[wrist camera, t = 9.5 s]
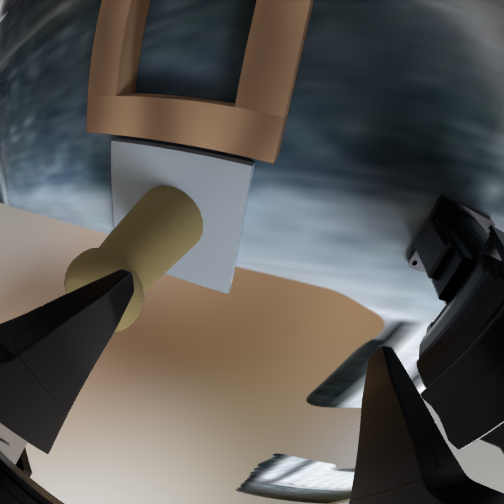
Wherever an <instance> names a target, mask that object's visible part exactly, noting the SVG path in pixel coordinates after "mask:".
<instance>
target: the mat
mask: <svg viewBox="0 0 504 504" xmlns="http://www.w3.org/2000/svg"><path fill="white" fill-rule="evenodd" d="M254 166H255V162H250V161H246V160H242V159H238V158H233V157H229V156H224V155H219V154H214V153H209V152H204V151H199V150H194V149H189V148H183V147H177V146H171V145H165V144H159V143H152V142H146V141H138V140H131V139H123V138H117V139H114V140H112V141H111V182H112V202H113V216H114V228H115V227H116V226H117V225H118V224H119V223H120V221H121V220H122V219H123V218H124V217H125V216H126V214H127V213H128V212H129V211H130V210H131V209H132V208H133V207H134V205H135V204H136V203H137V202H138V201H139V200H140V199H141V198H142V197H143V196H144V195H145V193H146V192H148V191H149V190H151V189H152V188H154V187H158V186H163V185H164V186H171V187H175V188H177V189H179V190H181V191H183V192H185V193H186V194H187V195H188V196H189V197H190V198H191V199H193V201H194V202H195V204H196V205H197V207H198V208H199V210H200V213H201V216H202V219H203V233H202V235H201V238H200V240H199V241H198V242H197V243H196V245H195V246H194V247H193V248H191V249H190V250H189V251H188V252H187V253H186V254H185V255H184V256H183V257H182V258H181V259H180V260H178V261H177V262H176V263H175V264H174V265H173V266H172V267H171V268H170V269H169V270H168V271H167V272H166V273H165V274H168V275H171V276H174V277H176V278H179V279H182V280H186V281H189V282H192V283H195V284H198V285H201V286H204V287H207V288H211V289H214V290H217V291H220V292H223V293H227V294H228V293H229V291H230V289H231V285H232V280H233V275H234V269H235V264H236V259H237V253H238V248H239V243H240V238H241V232H242V227H243V222H244V217H245V212H246V207H247V201H248V196H249V191H250V186H251V181H252V176H253V171H254Z"/></svg>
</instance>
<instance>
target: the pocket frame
mask: <svg viewBox="0 0 504 504" xmlns="http://www.w3.org/2000/svg"><path fill="white" fill-rule="evenodd" d="M150 2H151V0H102V3H101V7H100V11H99V16H98V21H97V26H96V31H95V37H94V43H93V50H92V57H91V66H90V75H89V87H88V102H87V132H92V133H103V134H113V135H122V136H131V137H139V138H146V139H153V140H160V141H167V142H173V143H179V144H185V145H190V146H196V147H201V148H206V149H211V150H216V151H221V152H226V153H231V154H235V155H240V156H244V157H249V158H253V159H257V160H261V161H265V162H269V163H274V162H275V160H276V158H277V157H278V155H279V152H280V147H281V143H282V139H283V134H284V130H285V126H286V121H287V117H288V113H289V108H290V104H291V100H292V95H293V91H294V86H295V82H296V78H297V73H298V69H299V65H300V60H301V56H302V51H303V47H304V43H305V38H306V34H307V29H308V25H309V20H310V16H311V12H312V7H313V3H314V0H257V2H256V6H255V10H254V14H253V19H252V23H251V28H250V32H249V37H248V41H247V46H246V51H245V56H244V61H243V66H242V71H241V76H240V81H239V86H238V91H237V97H236V102H235V103H231V102H225V101H218V100H211V99H204V98H195V97H186V96H176V95H163V94H146V93H135V91H136V82H137V73H138V66H139V59H140V52H141V46H142V40H143V35H144V30H145V24H146V20H147V15H148V10H149V6H150Z"/></svg>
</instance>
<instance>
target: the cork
mask: <svg viewBox="0 0 504 504" xmlns="http://www.w3.org/2000/svg"><path fill="white" fill-rule="evenodd" d="M202 233H203V219H202V216H201V213H200V210H199V208H198V207H197V205H196V204H195V202H194V201H193V199H191V198H190V197H189V196H188V195H187V194H186V193H185V192H183V191H181V190H179V189H177V188H175V187H171V186H164V185H163V186H158V187H154V188H152V189H151V190H149V191H148V192H146V193H145V195H144V196H143V197H142V198H141V199H140V200H139V201H138V202H137V203H136V204H135V205H134V207H133V208H132V209H131V210H130V211H129V212H128V213H127V214H126V216H125V217H124V218H123V219H122V220H121V221H120V223H119V224H118V225H117V226H116V227H115V228H114V230H113V231H112V232H111V233H110V234H109V236H108V237H107V238H106V239H105V241H104V242H103V243H102V244H101V246H100V247H99V248H91V249H89V250H86V251H84V252H83V253H81V254H80V255H79V256H77V257H76V258H75V259H74V260H73V261H72V262H71V264H70V266H69V267H68V269H67V272H66V275H65V280H64V286H65V291H66V294H67V293H70V292H72V291H74V290H76V289H78V288H80V287H82V286H85V285H87V284H89V283H91V282H93V281H95V280H98V279H100V278H102V277H104V276H106V275H109V274H111V273H113V272H115V271H117V270H120V269H125V270H128V271H130V272H132V274H133V281H134V294H133V296H132V298H131V300H130V302H129V304H128V306H127V308H126V310H125V312H124V314H123V316H122V318H121V320H120V323H119V324H118V326H117V328H116V330H115V332H117V331H121V330H124V329H126V328H127V327H128V326H130V325H131V324H132V323H133V322H134V321H135V320H136V318H137V317H138V315H139V314H140V312H141V309H142V306H143V301H144V293H145V292H146V291H147V290H148V289H149V288H150V287H151V286H152V285H153V284H154V283H155V282H156V281H157V280H158V279H159V278H160V277H161V276H162V275H164V274H165V273H166V272H167V271H168V270H169V269H170V268H171V267H172V266H173V265H174V264H175V263H176V262H177V261H178V260H180V259H181V258H182V257H183V256H184V255H185V254H186V253H187V252H188V251H189V250H190V249H191V248H193V247H194V246H195V245H196V243H197V242H198V241H199V240H200V238H201V235H202Z"/></svg>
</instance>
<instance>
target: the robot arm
mask: <svg viewBox="0 0 504 504" xmlns="http://www.w3.org/2000/svg"><path fill="white" fill-rule="evenodd" d="M443 201H445V204H444V205H442V202H443ZM489 225H490V227H489ZM488 227H489V228H488ZM414 246H415V248H414V250H413V252H412V253H411V255H410V257H409V259H408V263H409V266H410V267H411V268H414V269H417V270H420V271H423V272H426V273H427V276H428V278H430V279H431V280H432V283H433V285H434V288H435V290H436V292H437V295H438V298H439V299H440V300H443V301H444V302H445V305H446V306H445V307H444V309H443V310H442V311H441V313H440V314H439V315H438V317H437V318H436V319H435V321H434V322H432V323H431V324H430V325H429V326H428V328H427V334H426V335H425V336H424V338H423V340H422V342H421V344H420V350H419V359H418V360H417V368H418V372H419V375H420V378H421V380H422V382H423V384H424V386H425V388H426V389H425V390H424V391H423V392H422V393H421V396H420V394H419V392H418V391H417V389H416V387H415V385H414V384H413V382H412V380H411V378H410V377H409V375H408V373H407V372H406V370H405V368H404V367H403V365H402V363H401V362H400V360H399V358H398V357H397V355H396V353H395V352H394V350H393V349H392V347H390V346H386V345H380V346H379V347H378V348H377V349H376V351H375V352H374V353H373V354H372V356H371V357H370V358H369V361H368V365H367V372H366V379H365V385H364V392H363V398H362V409H361V423H360V434H359V443H358V452H357V460H356V467H355V474H354V480H353V486H352V492H351V497H350V502H349V504H504V493H501V492H499V491H496V490H493V489H491V488H489V487H486V486H484V485H482V484H479V483H476V482H475V481H473V480H471V479H470V478H469V477H468V476H466V474H465V473H464V471H463V469H462V468H461V466H460V465H459V463H458V461H457V460H456V458H455V456H454V455H453V453H452V452H451V450H450V448H449V447H448V445H447V443H446V442H445V440H444V438H443V436H442V434H441V433H440V431H439V429H438V427H437V425H436V423H434V419H433V418H432V416H431V414H430V412H429V410H428V408H427V407H426V405H425V403H424V401H423V399H424V400H425V401H427V403H429V404H430V405H431V406H432V408H433V409H434V410H435V412H436V413H437V415H438V416H439V418H440V420H441V422H442V424H443V427H444V430H445V432H446V435H447V438H448V440H449V441H450V442H451V443H452V444H453V445H454V446H455V447H456V448H457V449H463V448H465V447H467V446H468V445H470V444H472V443H474V442H475V441H477V440H478V439H480V440H482V441H484V442H487V443H489V444H492V445H494V446H496V447H499V448H500V449H501V451H502V452H503V454H504V232H502V231H500V230H498V229H497V228H495V224H494V223H493V222H492V220H490V219H488V218H487V217H485V216H483V215H481V214H479V213H477V212H476V211H474V210H472V209H470V208H468V207H466V206H464V205H462V204H460V203H458V202H456V201H454V200H452V199H450V198H448V197H446V196H440V197H439V198H438V200H437V202H436V204H435V207H434V209H433V211H432V213H431V215H430V218H428V219H427V220H426V223H425V225H424V227H423V229H422V231H421V233H420V235H419V237H418V239H417V241H416V243H415V245H414ZM414 260H416V262H414V263H412V262H413V261H414ZM133 294H134V281H133V274H132V272H130V271H128V270H125V269H120V270H117V271H115V272H113V273H111V274H109V275H106V276H104V277H102V278H100V279H98V280H95V281H93V282H91V283H89V284H87V285H85V286H82V287H80V288H78V289H76V290H74V291H72V292H70V293H67V294H65V295H63V296H61V297H59V298H57V299H55V300H53V301H51V302H49V303H47V304H45V305H43V306H40V307H38V308H36V309H34V310H32V311H30V312H28V313H26V314H24V315H21V316H19V317H17V318H14V319H12V320H9V321H7V322H4V323H1V324H0V504H64V503H63V502H61V501H60V500H58V499H57V498H55V497H54V496H53V495H51V494H50V493H49V492H47V491H46V490H45V489H43V488H42V487H41V486H40V485H38V484H37V483H36V482H35V481H33V480H32V479H31V478H30V476H31V474H32V471H31V468H30V464H29V461H28V457H27V453H26V449H25V446H26V444H27V442H29V443H30V444H32V445H33V446H35V447H36V448H38V449H40V450H42V451H43V452H45V453H47V454H48V453H49V451H50V450H51V448H52V446H53V443H54V441H55V439H56V437H57V435H58V433H59V431H60V429H61V427H62V425H63V423H64V421H65V419H66V417H67V415H68V413H69V411H70V409H71V407H72V405H73V403H74V401H75V399H76V397H77V396H78V394H79V392H80V390H81V388H82V386H83V385H84V383H85V381H86V379H87V377H88V376H89V374H90V372H91V370H92V369H93V367H94V365H95V363H96V362H97V360H98V358H99V357H100V355H101V353H102V351H103V350H104V348H105V347H106V345H107V343H108V341H109V340H110V338H111V337H112V335H113V333H114V332H115V330H116V328H117V326H118V324H119V323H120V320H121V318H122V316H123V314H124V312H125V310H126V308H127V306H128V304H129V302H130V300H131V298H132V296H133ZM421 397H422V398H423V399H422V398H421Z"/></svg>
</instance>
